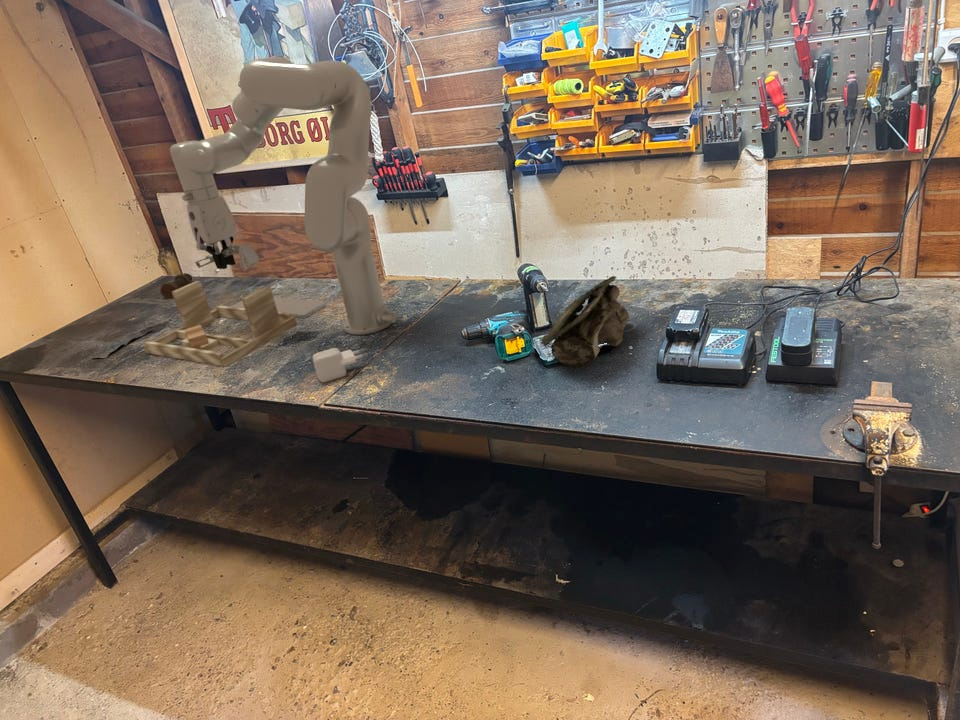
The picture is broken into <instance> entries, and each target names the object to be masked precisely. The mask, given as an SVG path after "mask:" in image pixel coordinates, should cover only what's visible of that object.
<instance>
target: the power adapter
mask: <svg viewBox="0 0 960 720" xmlns="http://www.w3.org/2000/svg"><path fill="white" fill-rule="evenodd" d="M365 351H366V350H365V348H360V349H357V350H354V351H352V350H351V349H346V350H344V351H340V349H339V348H338V347H332V348H329V349H325V350H321V351H319V352H315V353H314V354H312V362H313V366H314V369H315V372H316V375H317V378H318V380H319V381H320V383H327V382H328V383H329V382H331V381H334V380H337V379H340V378H343V377H345V376H346V375H347V369H346V366H348V365H352V364H356V363H357V360H358V359H362V358H365V357H368V356H369V354H368V352H365ZM364 352H365V353H364ZM356 354H357V355H356Z"/></svg>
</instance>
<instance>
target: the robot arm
mask: <svg viewBox="0 0 960 720" xmlns="http://www.w3.org/2000/svg"><path fill="white" fill-rule="evenodd" d="M238 81H239V82H238V83H239V88H240V91H239V93H238V94H237V95H236V96H235V97H234V99H233V100H232V104H231V107H232V112H233V114H234V115H235V117H236V118H237V119H236V120H235V122H234V123H233V124H232V126H230V127H229V129H228V130H227V131H226V132H224V133H223V134H219V135H215V136H212V137H210V138H209V137H208V138H204V139H201V140H188V141H183V142H178V143H175V144H172V145H171V146H170V148H169V154H170V157H171V159H172V162H173V165H174V168H175V170H176V173H177V175H178V176H177V177H178V179H179V181H180V184H181V187H182V191H183V194H184V195H182V200H183V201H184V202H186V203H187V204H186V210H187V216H188V221H189V225H190V228H191V231H192V235H193V237H194V240H195V242H196V250H198V251H205V252H207V253H208V254H209V255H211V256H213V259H214V262H213V263H214V264H215V267H216V269H218V270H227V268H228V266H235V265H236V261H235V258H234V254H232V255H230V256H227V257H225V258H224V256H223V254H222V253H220V252H222V251H224V250H226V249H228V248H230V247H232V246H233V242H234V241H235V240H234V239H235V238H236V237H237V236H238V234H239V233H238V228H237V225H236V221H235V219H234V216H233V214H232V211H231V209H230V207H229V205H228V203H227V202H226V200H225V198H224V196H223V195H220V194H219V190H218V186H217V184H216V180H215V178H214V176H213V174H217V173H220V172H223V171H225V170H228V169H230V168H233V167H236V166H240V165H242V164H243V163H244V162H245V161H246V160H247V159H248V158H250V156H251V155H252V154H253V153H254V152H255V151H256V150H257V149H258V148H259V146H260V145H261V144H262V142H263V140H264V138H265V136H266V132H267V128H268V127H269V126H270V124H271V123H272V122H273V121H274V120H275V119H276V118H277V116H278V115H279V114H280V113H281V112H282V111H283V109H289V110H299V111H316V110H321V109H324V108H328V107H331V106H332V107H333V113H332V117H331V120H330V124H329V130H328V148H327V153H326V156H324V157H322V158H320V159H318V160H317V161H315V162H314V163H313V164H312V165H311V166H310V168H309V169H308V171H307V174H306V177H305V185H304V186H305V187H304V230H305V234H306V237H307V239H308V241H309V243H310V244H311V245H312V246H313V248H314V249H316V250H318V251H320V252H324V253H329V252H332V258H333V259H332V260H333V265H334V269H335V272H336V277H337V281H338V284H339V288H340V293H341V297H342V299H343V300H342V301H343V305H344V308H345V312H346V313H345V314H346V316H347V319H346V320H345V321H344V322H343V325H342V328H343V330H344V332H346V333H347V334H350V335H359V336H360V335H367V334H374V333H376V332H377V333H378V332H380V331H382V330H384V329H386V328H388V327H389V326H391V324H394V323H396V321H397V317H398V312H397V311H393V310H392V311H390V309H389V304H385V301H384V297H383V292H382V287H381V283H380V279H379V274H378V270H377V266H376V260H375V255H374V251H373V245H372V236H371V224H370V223H371V222H370V216H369V212H368V210H367V208H366V207H365V205H364V203H362V201H360V200H359V199H358V198H356V197H353V195H355V194H357V193H358V192H359V191H361V190H362V189H363V188H364V186H365V185H366V182H367V175H368V164H369V163H368V161H369V149H370V148H369V147H370V146H369V141H370V128H371V118H372V117H371V116H372V100H371V94H370V90H369V87H368V85H367V83H366V81H365V79H364V78H363V76H362V75H361V74H360V73H359V71H357V70H356V69H355V68H354V67H353V66H351V65H350V64H348V63H346V62H343V61H340V60H334V59H333V60H329V59H328V60H323V61H317V62H312V63H311V62H310V63H305V64H304V63H302V64H301V63H293V62H292V61H290V60H289V59H287V58H284V57H280V56H271V57H265V58H257V59H253V60H250V61H248V62H247V63H246V64H245V65H244V66H243V67H242V68H241V71H240V74H239V79H238ZM218 243H219V244H220V247H221V249H220V248H219V245H218ZM225 253H226V252H225ZM230 254H231V252H230Z"/></svg>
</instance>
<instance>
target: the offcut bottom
mask: <svg viewBox="0 0 960 720" xmlns="http://www.w3.org/2000/svg"><path fill="white" fill-rule="evenodd" d="M207 339H208V342H209V343H208V344H205V345H202V346H199V347H196V348H195V349H201V350H208V351H214V352H220V351H221V347H220V346H219V345H220V344H218V342H217V340H214V339H210V338H207ZM181 344H182V347H189V348H192V347H191V345H190V343H189V341H188V339H187V338H186V339H181Z"/></svg>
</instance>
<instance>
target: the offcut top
mask: <svg viewBox="0 0 960 720" xmlns="http://www.w3.org/2000/svg"><path fill="white" fill-rule="evenodd" d="M184 331H185V333H186V336H187V339H188V341H189V343H190V345H191V347H192V348H196V347H199V346H202V345H205V344H208V343H209V342H208V339H207V336H206V334H207V333H206V332H205V330H204V327H203V328H202V327H201V325H198V326H195V327H191V328H188V329H185V330H184ZM205 333H206V334H205Z"/></svg>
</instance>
